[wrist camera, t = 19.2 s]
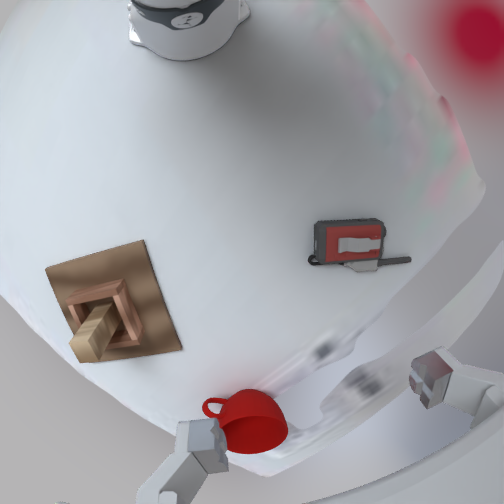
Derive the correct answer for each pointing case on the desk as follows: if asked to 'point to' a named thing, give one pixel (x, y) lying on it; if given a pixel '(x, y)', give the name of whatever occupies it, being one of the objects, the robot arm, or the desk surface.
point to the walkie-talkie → (351, 244)
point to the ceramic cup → (249, 421)
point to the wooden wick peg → (96, 332)
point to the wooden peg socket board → (117, 299)
